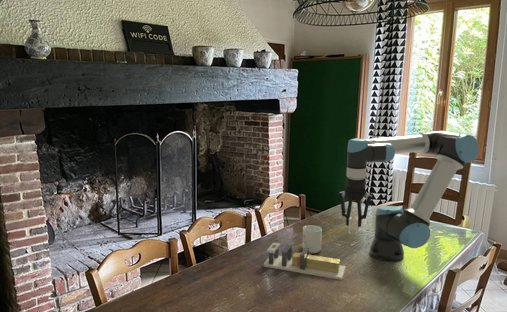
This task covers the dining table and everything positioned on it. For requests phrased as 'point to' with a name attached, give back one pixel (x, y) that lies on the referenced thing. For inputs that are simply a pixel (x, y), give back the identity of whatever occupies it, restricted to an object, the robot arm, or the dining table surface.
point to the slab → (310, 271)
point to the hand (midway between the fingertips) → (353, 233)
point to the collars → (286, 254)
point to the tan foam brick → (317, 262)
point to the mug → (312, 238)
